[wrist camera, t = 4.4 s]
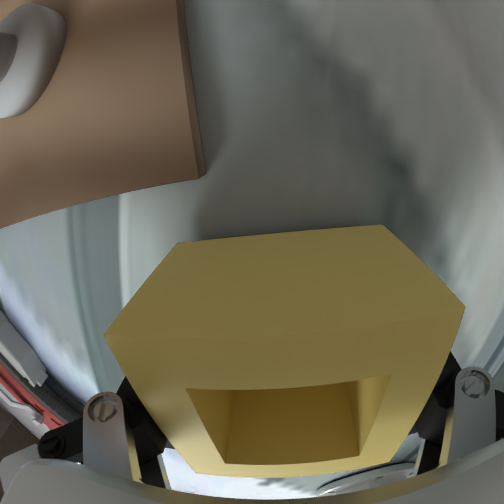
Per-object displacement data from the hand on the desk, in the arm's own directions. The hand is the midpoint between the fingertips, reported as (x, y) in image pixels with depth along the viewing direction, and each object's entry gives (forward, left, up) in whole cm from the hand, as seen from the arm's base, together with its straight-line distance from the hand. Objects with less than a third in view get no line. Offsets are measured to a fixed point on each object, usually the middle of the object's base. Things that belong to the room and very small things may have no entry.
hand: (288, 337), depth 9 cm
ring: (0, 0, -1) cm, 1 cm away
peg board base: (+13, +9, -2) cm, 16 cm away
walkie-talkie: (-4, +23, -2) cm, 23 cm away
